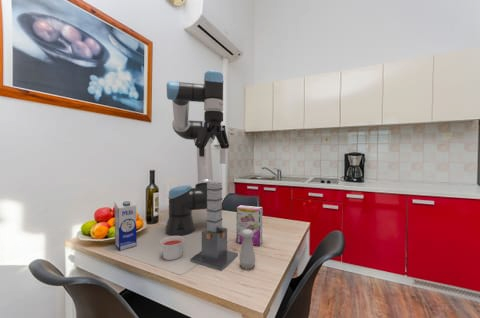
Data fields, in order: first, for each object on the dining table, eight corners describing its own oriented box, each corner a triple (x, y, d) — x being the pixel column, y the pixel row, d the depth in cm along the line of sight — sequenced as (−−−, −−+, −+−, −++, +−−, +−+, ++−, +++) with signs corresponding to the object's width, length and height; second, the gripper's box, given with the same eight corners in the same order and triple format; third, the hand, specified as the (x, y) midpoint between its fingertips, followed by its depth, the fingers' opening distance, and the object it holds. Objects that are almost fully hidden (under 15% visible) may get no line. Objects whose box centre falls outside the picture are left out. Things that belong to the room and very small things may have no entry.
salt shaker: (238, 262, 76) (238, 227, 75) (254, 261, 76) (254, 227, 76) (240, 271, 70) (240, 233, 70) (256, 270, 70) (256, 233, 70)
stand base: (190, 261, 76) (189, 229, 76) (209, 248, 87) (209, 220, 87) (221, 271, 70) (221, 235, 70) (237, 255, 80) (237, 225, 80)
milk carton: (132, 241, 94) (131, 198, 94) (137, 245, 89) (136, 200, 89) (114, 246, 89) (114, 200, 89) (118, 251, 84) (118, 203, 84)
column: (206, 240, 77) (206, 183, 77) (213, 236, 81) (213, 181, 81) (216, 243, 75) (215, 184, 75) (222, 238, 79) (222, 182, 79)
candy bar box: (236, 243, 92) (235, 207, 92) (239, 239, 97) (239, 204, 96) (260, 246, 88) (260, 209, 88) (262, 242, 93) (262, 206, 93)
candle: (165, 250, 85) (165, 235, 85) (187, 250, 85) (187, 235, 85) (156, 261, 76) (156, 245, 76) (180, 262, 76) (180, 245, 76)
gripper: (201, 104, 68) (201, 166, 69) (236, 115, 91) (236, 163, 91) (184, 106, 72) (185, 166, 73) (222, 117, 94) (222, 162, 95)
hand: (213, 164), depth 82 cm, fingers open, 13 cm apart
